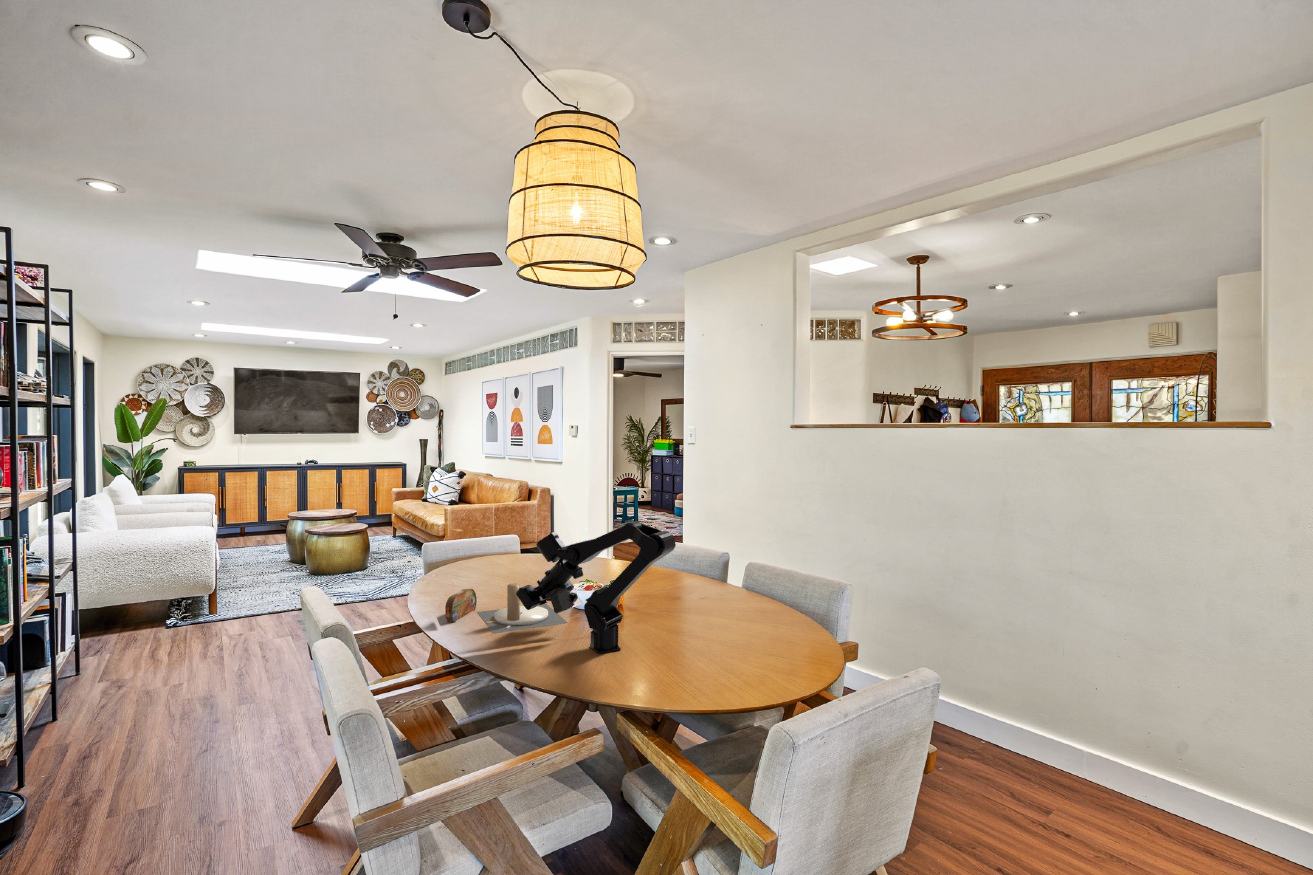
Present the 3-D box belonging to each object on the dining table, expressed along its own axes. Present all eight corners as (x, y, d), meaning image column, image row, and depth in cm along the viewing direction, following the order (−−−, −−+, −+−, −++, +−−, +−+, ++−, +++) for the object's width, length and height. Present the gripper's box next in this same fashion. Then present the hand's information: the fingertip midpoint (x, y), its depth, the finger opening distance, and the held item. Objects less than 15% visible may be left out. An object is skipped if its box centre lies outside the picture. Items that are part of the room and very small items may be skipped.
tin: (452, 627, 185) (453, 598, 185) (443, 626, 186) (443, 597, 185) (477, 612, 200) (477, 585, 200) (468, 611, 200) (468, 585, 200)
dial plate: (545, 606, 207) (545, 602, 206) (568, 626, 187) (568, 622, 187) (477, 615, 197) (477, 611, 196) (492, 636, 177) (492, 632, 177)
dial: (539, 606, 202) (539, 571, 202) (555, 620, 188) (555, 583, 188) (488, 613, 195) (489, 576, 195) (501, 628, 181) (501, 589, 181)
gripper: (554, 607, 165) (523, 641, 172) (596, 589, 181) (566, 620, 188) (530, 574, 169) (501, 608, 175) (574, 558, 185) (545, 590, 191)
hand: (530, 607), depth 182 cm, fingers closed
